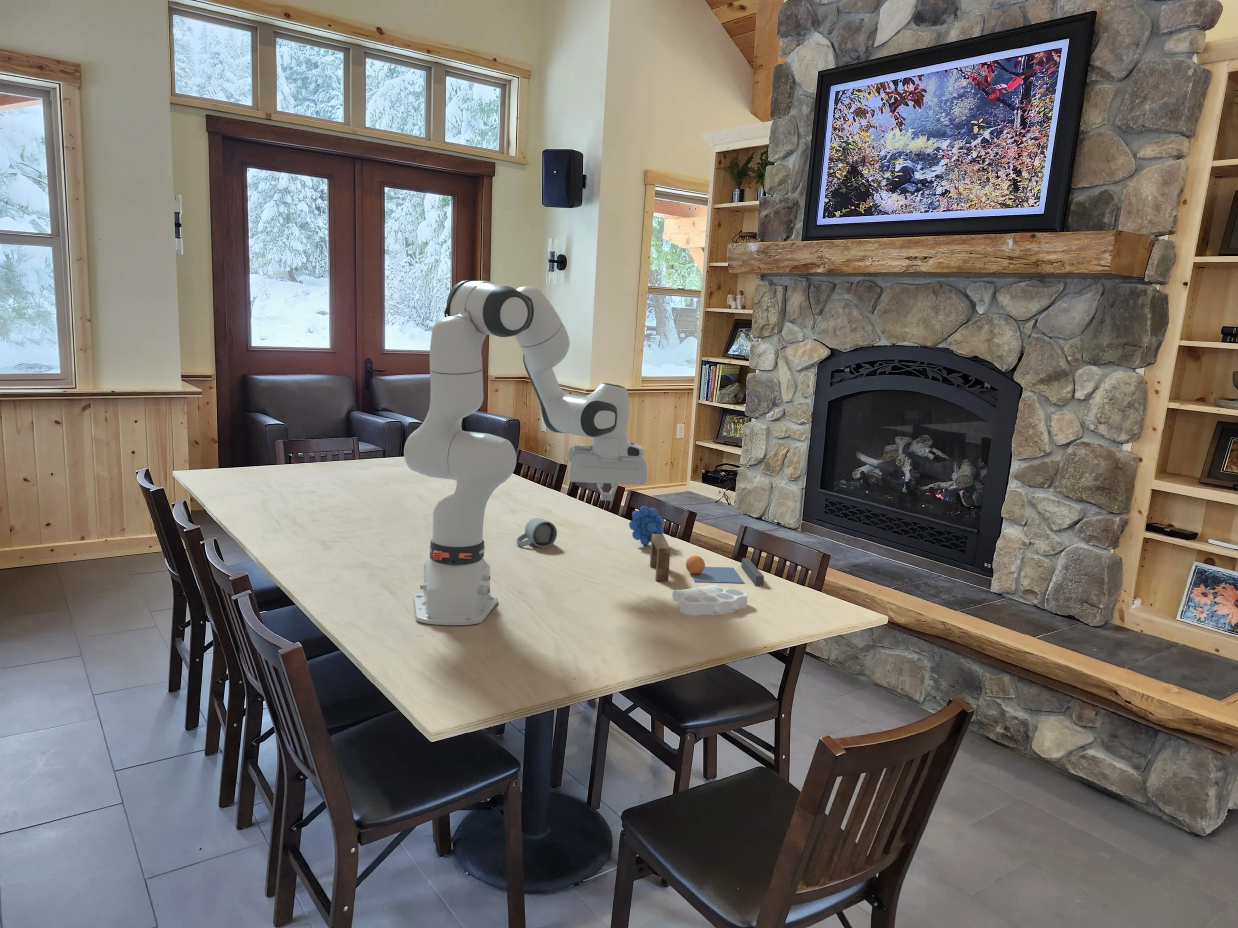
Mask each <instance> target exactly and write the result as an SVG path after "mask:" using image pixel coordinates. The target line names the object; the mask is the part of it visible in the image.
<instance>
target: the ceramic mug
mask: <svg viewBox="0 0 1238 928" xmlns="http://www.w3.org/2000/svg"><path fill="white" fill-rule="evenodd" d="M557 530H558V529H557V527H556V525H555V524H554V523H552V521H551V522H550V521H549V520H546V519H544V518H541V517H535V518H531V519H530V520H528V522H527V523H526V525H525V526H524V533H523V534H521V535H519V536H518V537H517V538H516V540H515V541H516V544H517V546H518V547H526V546H529V545H531V544H533V545H535V546H536V547H538V548H541V549H546V548H549V547H551V546H552V545H553V544H554V543H555V542H556V541H557V540H556V539H557V537H558V531H557Z"/></svg>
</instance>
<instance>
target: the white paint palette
mask: <svg viewBox="0 0 1238 928" xmlns="http://www.w3.org/2000/svg"><path fill="white" fill-rule="evenodd" d="M748 597H749V596H748V593H747V592H746V591H744V590H741V589H736V588H726V587H721V586H719V585H716V584H711V585H708V586H701V587H699V586H694V587H692V588H686V589H676V590H674V591H672V598H673V600H674V601H675V602H677V603H679V604H680V605H679V606H680V607H679V611H680V613H682V614H684V615H687V616H693V617H698V616H703V615H706V616H721V615H724V614H733V613H735V612H737V611H738V610H740V609H746V608H747V607H748Z"/></svg>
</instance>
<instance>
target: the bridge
mask: <svg viewBox="0 0 1238 928" xmlns="http://www.w3.org/2000/svg"><path fill="white" fill-rule="evenodd" d="M649 558H650V559H649V566H650V568H655V581H656V582H663V583H664V582H669V574H670V561H671V547H670V545H669V543H668V541H667V539H666V537H665V535H664V533H663V534H652V541H651V542H650V556H649Z"/></svg>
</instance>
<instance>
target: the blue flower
mask: <svg viewBox="0 0 1238 928" xmlns="http://www.w3.org/2000/svg"><path fill="white" fill-rule="evenodd" d="M631 517H632V520H630V521H629V524H628V526H629V529H630V530H632V533H631V534H632V539H634V540H636V541H639V542H640V544H642V545H643V546H648V545H649V544H650V543H651V541H652V534H663V535H664V530H665V529H664V528H663V527H662V526H663V524H664V520H665V519H664V518H663V517H662V516H661V515H659V511H658V509H657V508H655V507H650V508H649V507H648V506H646V505H642V506H641V507H640V508H639V510H633V511H632V514H631Z"/></svg>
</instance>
